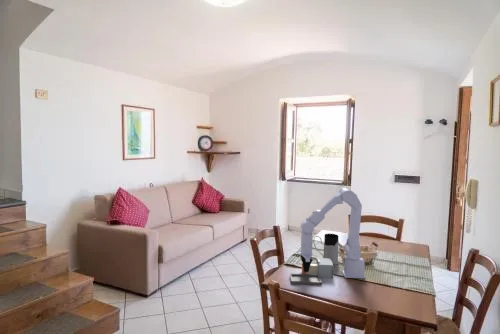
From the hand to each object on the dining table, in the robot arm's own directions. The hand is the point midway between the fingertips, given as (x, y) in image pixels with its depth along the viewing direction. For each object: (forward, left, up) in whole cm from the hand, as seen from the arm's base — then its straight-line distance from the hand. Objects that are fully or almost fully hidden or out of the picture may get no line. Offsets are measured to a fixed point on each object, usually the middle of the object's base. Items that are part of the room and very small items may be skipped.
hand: (305, 270), depth 163 cm
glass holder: (-13, -18, -2) cm, 22 cm away
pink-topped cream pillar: (-3, 0, -1) cm, 3 cm away
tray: (+1, +9, -1) cm, 9 cm away
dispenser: (-9, 0, -1) cm, 9 cm away
